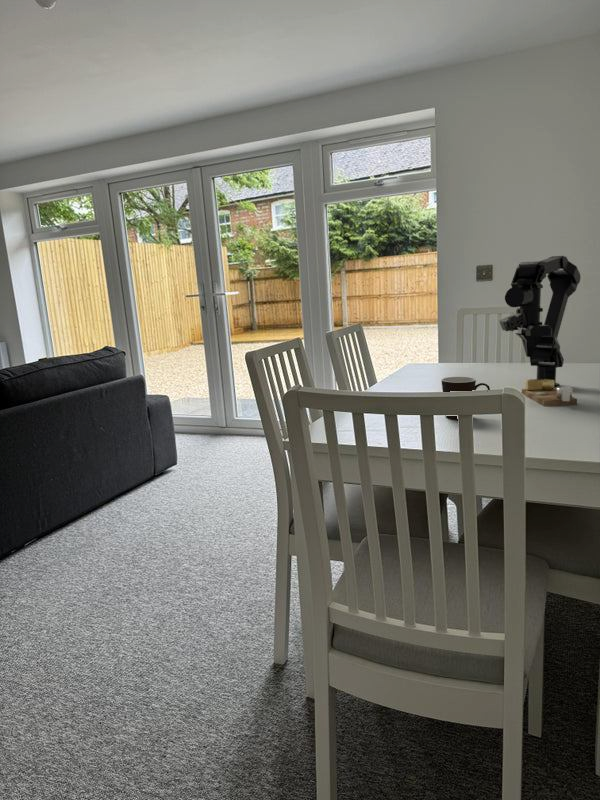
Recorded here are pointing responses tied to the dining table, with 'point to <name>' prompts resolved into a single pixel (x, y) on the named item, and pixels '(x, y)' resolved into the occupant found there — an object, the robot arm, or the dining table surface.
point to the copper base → (547, 397)
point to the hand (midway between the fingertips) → (528, 356)
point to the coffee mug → (459, 386)
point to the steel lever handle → (564, 393)
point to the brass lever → (539, 384)
